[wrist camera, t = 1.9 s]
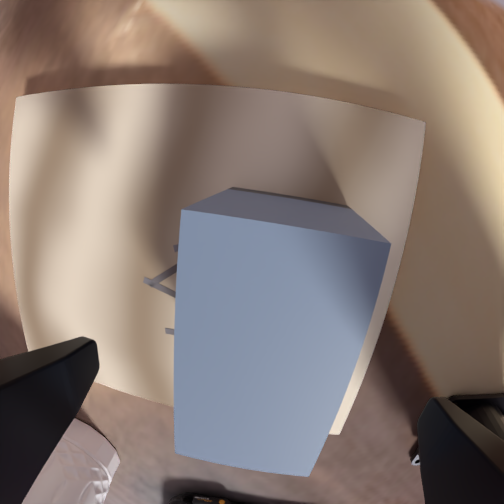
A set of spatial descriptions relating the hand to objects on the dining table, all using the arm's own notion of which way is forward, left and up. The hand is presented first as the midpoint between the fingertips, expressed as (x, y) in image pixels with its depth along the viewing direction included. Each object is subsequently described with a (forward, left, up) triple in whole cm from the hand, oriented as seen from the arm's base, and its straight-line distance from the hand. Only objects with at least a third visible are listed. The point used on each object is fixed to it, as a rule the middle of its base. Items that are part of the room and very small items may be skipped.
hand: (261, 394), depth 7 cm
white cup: (+13, +18, -8) cm, 24 cm away
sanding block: (0, 0, -6) cm, 6 cm away
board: (+5, 0, -8) cm, 9 cm away
